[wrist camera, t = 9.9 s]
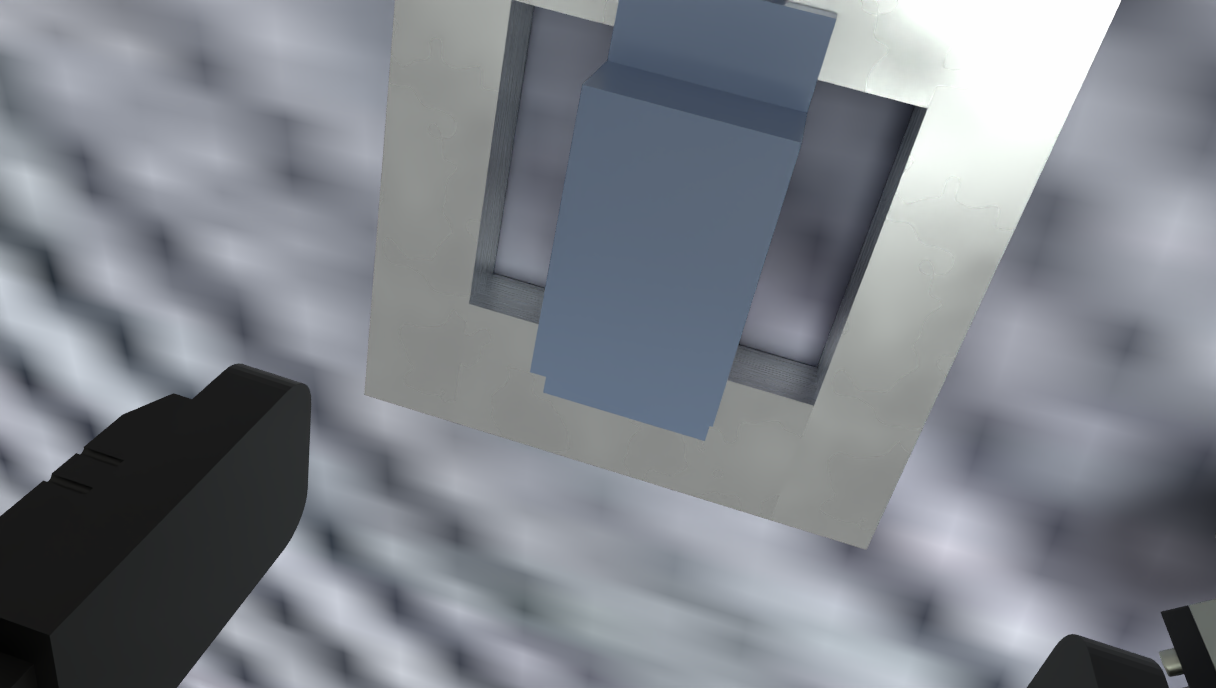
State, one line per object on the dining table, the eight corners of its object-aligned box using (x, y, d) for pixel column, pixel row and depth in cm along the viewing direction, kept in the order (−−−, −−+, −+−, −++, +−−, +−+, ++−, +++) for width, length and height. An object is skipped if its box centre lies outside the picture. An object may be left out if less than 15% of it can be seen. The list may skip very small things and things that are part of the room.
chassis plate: (448, -228, 21) (413, -232, 20) (1122, -67, 20) (1146, -56, 18) (392, 361, 30) (364, 394, 28) (865, 505, 28) (866, 549, 26)
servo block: (650, -51, 22) (601, -19, 18) (839, -3, 22) (834, 40, 17) (570, 343, 28) (517, 438, 24) (718, 386, 27) (692, 491, 23)
